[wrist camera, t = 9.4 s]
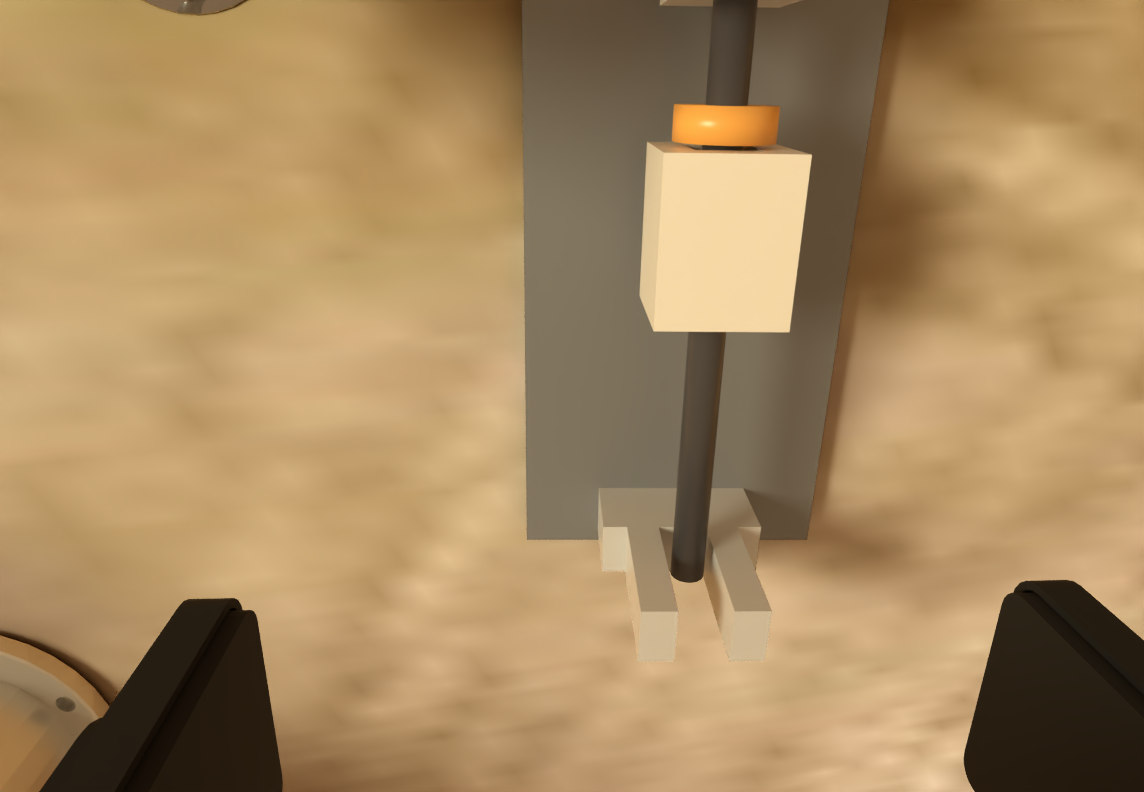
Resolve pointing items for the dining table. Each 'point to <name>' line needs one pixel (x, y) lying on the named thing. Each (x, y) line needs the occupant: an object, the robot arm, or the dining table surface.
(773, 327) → the sleeve
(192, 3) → the wine glass
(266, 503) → the dining table surface
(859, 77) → the board
